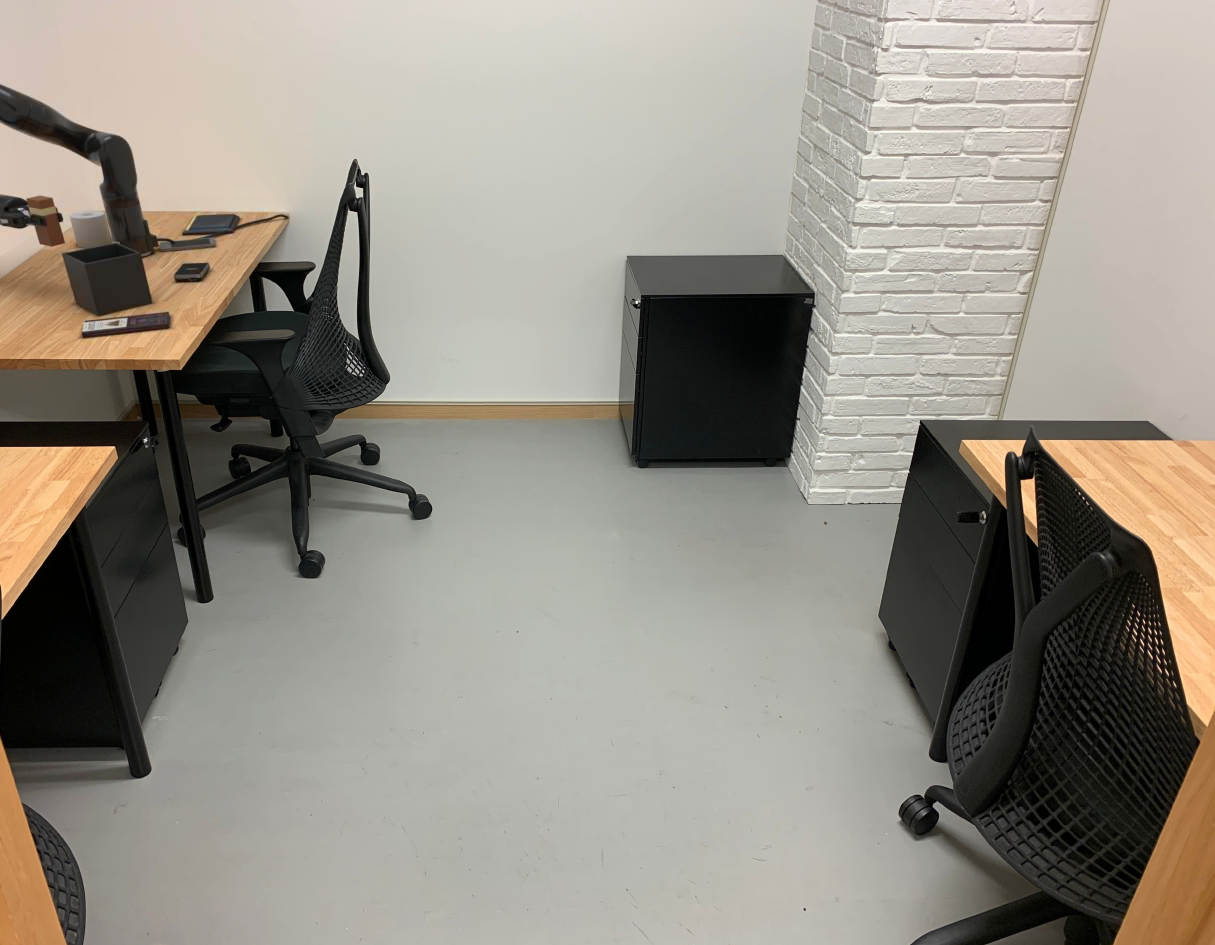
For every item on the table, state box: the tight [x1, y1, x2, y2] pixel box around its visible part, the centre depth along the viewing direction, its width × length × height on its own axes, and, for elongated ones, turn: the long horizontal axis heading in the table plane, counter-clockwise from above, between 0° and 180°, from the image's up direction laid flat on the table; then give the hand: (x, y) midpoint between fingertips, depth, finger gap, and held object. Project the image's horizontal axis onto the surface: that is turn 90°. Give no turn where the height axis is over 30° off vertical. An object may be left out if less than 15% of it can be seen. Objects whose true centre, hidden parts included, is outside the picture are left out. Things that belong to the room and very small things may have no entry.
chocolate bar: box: [81, 311, 170, 339], centre depth 214 cm, size 9×1×18 cm
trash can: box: [61, 243, 154, 317], centre depth 226 cm, size 13×13×13 cm
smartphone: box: [159, 237, 216, 252], centre depth 274 cm, size 15×8×1 cm, turn 113°
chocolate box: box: [25, 195, 66, 247], centre depth 223 cm, size 5×4×11 cm
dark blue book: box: [182, 213, 240, 236], centre depth 293 cm, size 20×2×15 cm
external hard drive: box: [173, 262, 211, 283], centre depth 248 cm, size 7×11×2 cm, turn 9°
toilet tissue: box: [69, 210, 113, 249], centre depth 274 cm, size 9×13×9 cm
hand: (52, 219), depth 221 cm, fingers closed on chocolate box, 3 cm apart
